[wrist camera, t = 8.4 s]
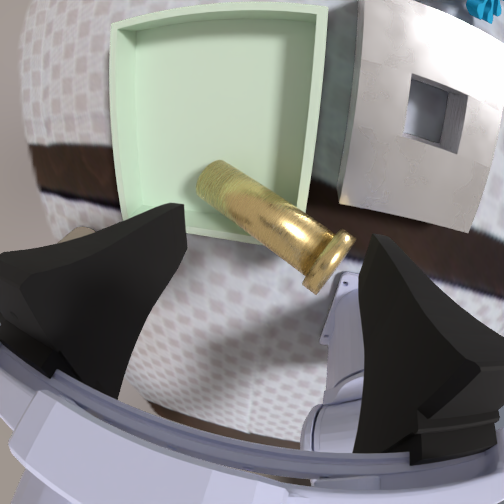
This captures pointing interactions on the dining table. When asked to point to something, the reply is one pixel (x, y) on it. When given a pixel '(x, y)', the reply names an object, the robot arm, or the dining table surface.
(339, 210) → the dining table surface
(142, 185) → the parts tray
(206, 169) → the pin
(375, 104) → the pin bracket
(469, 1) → the gear
